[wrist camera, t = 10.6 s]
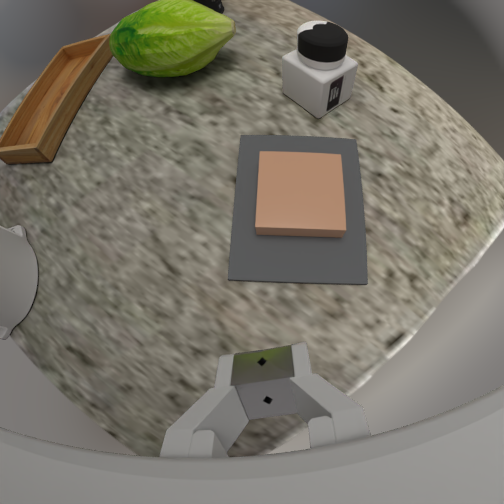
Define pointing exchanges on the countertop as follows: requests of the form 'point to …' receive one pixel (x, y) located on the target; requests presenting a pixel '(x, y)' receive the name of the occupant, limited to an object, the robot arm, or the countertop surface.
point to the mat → (297, 247)
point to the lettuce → (170, 38)
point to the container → (319, 68)
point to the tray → (54, 102)
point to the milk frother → (212, 4)
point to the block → (300, 195)
